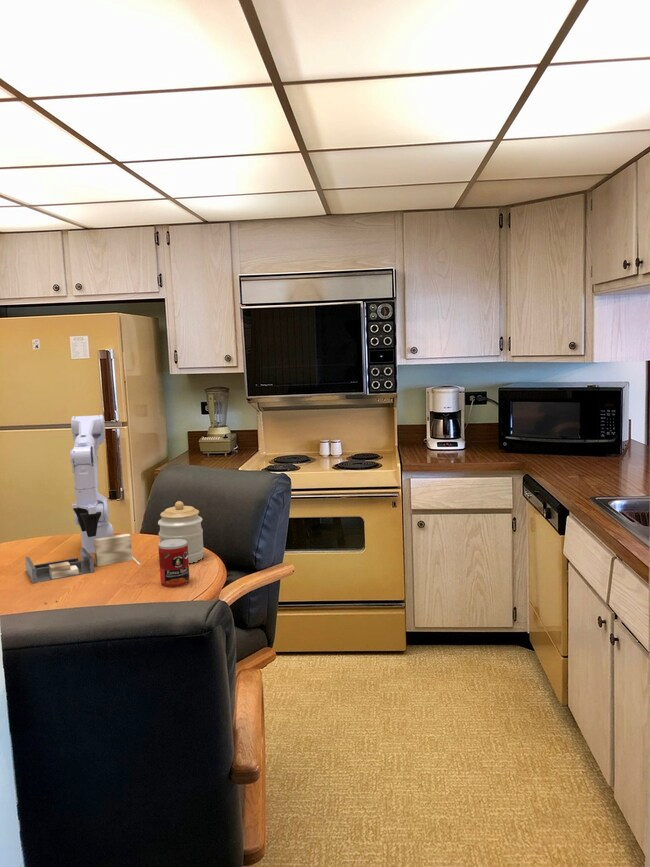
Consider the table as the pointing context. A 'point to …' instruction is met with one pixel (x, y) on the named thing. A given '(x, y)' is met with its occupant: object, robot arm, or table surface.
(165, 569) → the canned food
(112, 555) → the wooden block
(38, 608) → the table surface
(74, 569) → the offcut lower
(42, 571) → the rack
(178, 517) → the jar
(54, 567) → the offcut upper
